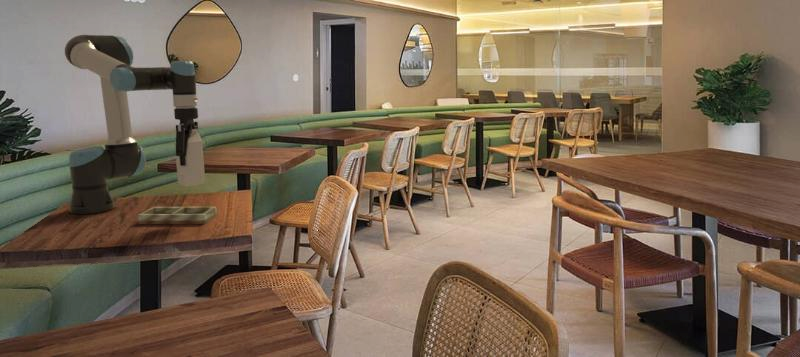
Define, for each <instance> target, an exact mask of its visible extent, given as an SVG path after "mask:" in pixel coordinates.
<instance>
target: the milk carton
mask: <svg viewBox="0 0 800 357" xmlns="http://www.w3.org/2000/svg"><path fill="white" fill-rule="evenodd" d="M198 131H199V128H198V129H192V133H191V134H190V137H189V139H188V146H187V154H186V156H188V164H189V175H180V163H179V156H176V155H175V163H176V165H175V166H176V174H177V177H176V178H177V184H178V185H180V186H184V187H192V186H199V185H200V186H201V185H205V184H206V175H205V174H206V173H205V161H204V148H203V147H204V145H203V139H202V137H201V135H200V133H198ZM174 150H175V151H174V152H175V154H176V137H175V139H174Z"/></svg>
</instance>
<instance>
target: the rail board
mask: <svg viewBox="0 0 800 357" xmlns="http://www.w3.org/2000/svg"><path fill="white" fill-rule="evenodd" d="M217 210H218V209H217V206H152V207H150V208H149V209H147V210H145V211H143V212H141V213H139V214H137V222H138V225H199V224H200V225H205V224H207V223H208V222H210V221H211V220H212V219H214V218H216V217H217V216H218V211H217Z"/></svg>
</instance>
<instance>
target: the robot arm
mask: <svg viewBox="0 0 800 357" xmlns="http://www.w3.org/2000/svg"><path fill="white" fill-rule="evenodd" d="M64 55H65V58H66V60H67V61H68V63H70V65H72V66H74V67H75V68H78V69H80V70H87V71H89V72H92V73H94V74H96V75H98V76H99V77H100V85H101V94H102V101H103V108H104V109H103V110H104V116H105V123H106V124H105V125H106V131H107V132H106V133H107V141H106V142H105V143H104V147H103V146H100V145H95V146H94V145H93V146H87V147H83V148H78V149H75V150H73V151H71V152H70V153H69V155H68V157H69V158H68V160H69V162H68V166H69V170H70V179H71V180H70V181H71V186H72V188H71V189H72V194H71V197H70V202H69V206H68V207H69V208H68V210H69V213H71V214H74V215H90V214H98V213H102V212H109V211H111V210H113V209H115V201H114V199H113V196H112V194H111V193H110V191H109V189H108V183H107V182H108V181H107V180H114V179H120V178H130V177H133V176H137V175H139V174H141V173H142V172H143V171H144V170H145V167H146V162H147V156H146V151H144V148H143V146H141V145H139V144H138V141H137V140H136V139H135V138H134V137H133V132H132V130H133V129H132V124H131V123H132V122H131V115H130V114H131V113H130V107H129V99H128V98H129V97H128V92H137V91H160V90H161V91H162V90H163V91H164V90H165V91H166V90H172V101H173V103H172V104H173V107H175V108H174V109H173V112H174V120H177V121H178V120H179V124H176V125H175V135H176V136H175V138H176V153H175V157H176V156H179V163H180V175H189V164H188V156H186V154H187V146H188V139H189V137H190V134H191V133H192V129H198V133H199V132H200V131H199V124H198V123H199V122H198V121H194V120H197V119H199V111H198V108H197V106H198V102H197V101H198V99H199V98H198V96H197V86H196V85H197V82H196V70H195V65H194V64H195V63H194V62H193V61H191V60H174V61H173V60H172V61H171V62H170V66H168V67H167V66H165V67H164V66H162V67H161V66H160V67H159V66H158V67H133V66H132V65H133V63H134V52H133V48H132V47H131V45H130V43H129V41H127V39H125V38H124V37H122V36H119V35H118V36H116V35H102V34H101V35H98V34H95V35H94V34H89V35H88V34H80V35H76V36H74V37H72V38H71V39H70V40H68V41H67V42H66V44H65V47H64ZM199 134H200V133H199Z"/></svg>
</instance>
